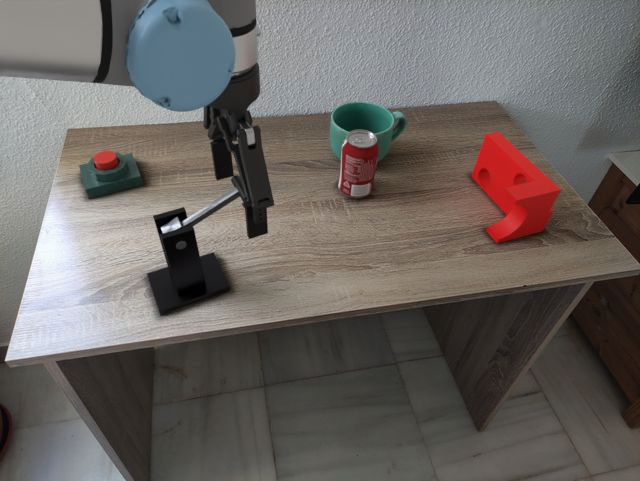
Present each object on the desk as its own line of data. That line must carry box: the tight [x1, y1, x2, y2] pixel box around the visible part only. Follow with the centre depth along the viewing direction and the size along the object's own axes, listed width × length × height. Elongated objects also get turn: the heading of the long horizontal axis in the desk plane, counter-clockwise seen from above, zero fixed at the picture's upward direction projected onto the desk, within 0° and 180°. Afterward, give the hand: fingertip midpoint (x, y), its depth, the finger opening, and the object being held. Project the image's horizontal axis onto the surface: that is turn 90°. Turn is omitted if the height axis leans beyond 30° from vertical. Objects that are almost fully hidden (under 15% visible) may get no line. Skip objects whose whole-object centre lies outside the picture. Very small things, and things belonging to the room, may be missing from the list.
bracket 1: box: [146, 206, 231, 316], centre depth 69 cm, size 11×8×14 cm
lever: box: [161, 174, 246, 233], centre depth 66 cm, size 13×5×2 cm, turn 117°
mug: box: [329, 101, 407, 163], centre depth 97 cm, size 17×13×10 cm
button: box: [93, 150, 119, 171], centre depth 88 cm, size 4×4×2 cm
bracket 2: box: [471, 131, 562, 244], centre depth 87 cm, size 18×10×10 cm
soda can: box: [337, 130, 379, 199], centre depth 88 cm, size 7×7×12 cm
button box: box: [78, 151, 144, 199], centre depth 90 cm, size 10×8×4 cm
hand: (240, 204), depth 68 cm, fingers open, 13 cm apart
